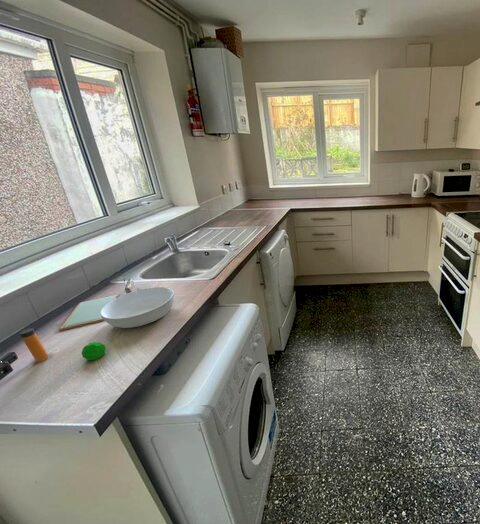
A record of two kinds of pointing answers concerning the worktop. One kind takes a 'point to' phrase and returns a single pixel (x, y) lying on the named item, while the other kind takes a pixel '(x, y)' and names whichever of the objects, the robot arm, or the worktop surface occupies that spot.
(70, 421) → the worktop surface
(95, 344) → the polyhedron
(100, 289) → the worktop surface
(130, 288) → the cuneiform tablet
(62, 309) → the worktop surface
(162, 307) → the serving bowl
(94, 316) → the pale green board
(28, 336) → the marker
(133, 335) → the worktop surface
